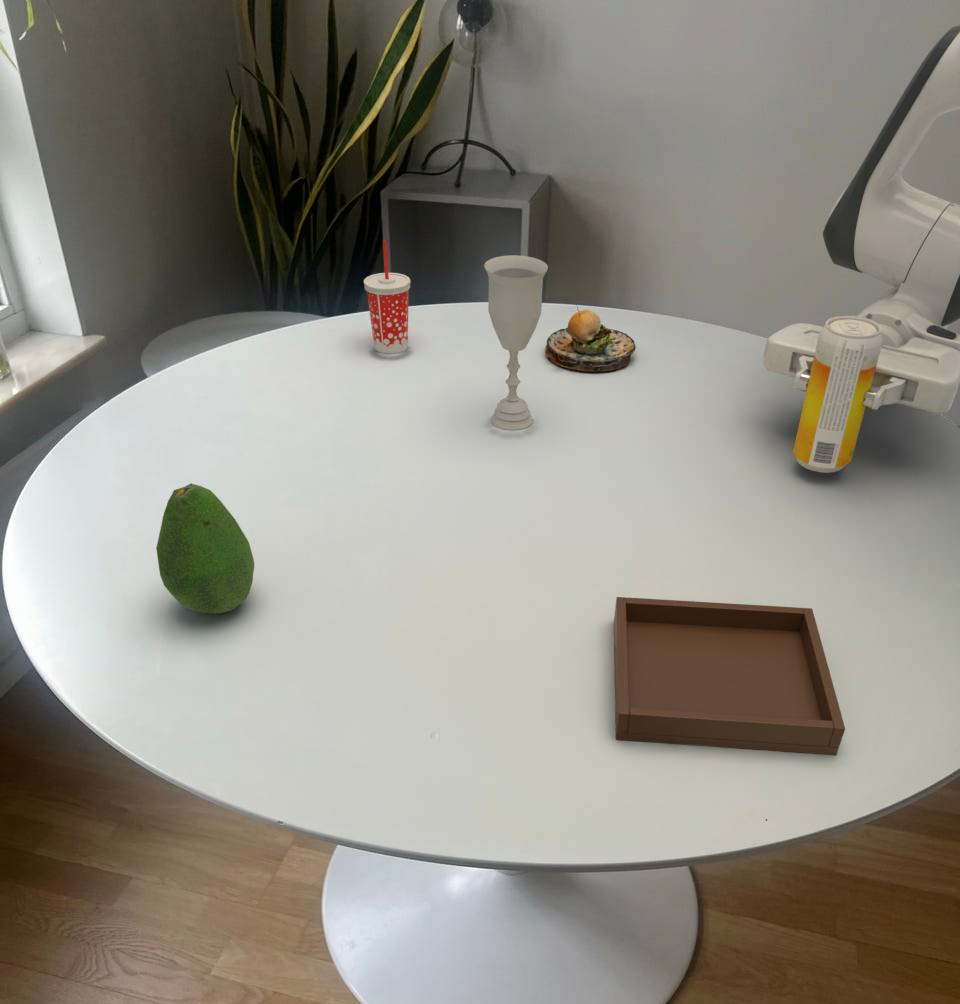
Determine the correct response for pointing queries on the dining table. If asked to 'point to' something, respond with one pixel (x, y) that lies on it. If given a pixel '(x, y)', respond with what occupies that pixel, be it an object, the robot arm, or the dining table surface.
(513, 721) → the dining table surface
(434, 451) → the dining table surface
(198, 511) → the avocado
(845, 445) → the beer can
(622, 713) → the serving tray
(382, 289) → the beverage cup
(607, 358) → the burger
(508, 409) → the chalice
